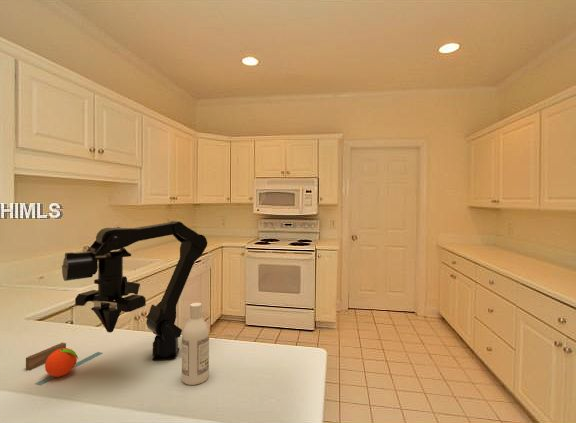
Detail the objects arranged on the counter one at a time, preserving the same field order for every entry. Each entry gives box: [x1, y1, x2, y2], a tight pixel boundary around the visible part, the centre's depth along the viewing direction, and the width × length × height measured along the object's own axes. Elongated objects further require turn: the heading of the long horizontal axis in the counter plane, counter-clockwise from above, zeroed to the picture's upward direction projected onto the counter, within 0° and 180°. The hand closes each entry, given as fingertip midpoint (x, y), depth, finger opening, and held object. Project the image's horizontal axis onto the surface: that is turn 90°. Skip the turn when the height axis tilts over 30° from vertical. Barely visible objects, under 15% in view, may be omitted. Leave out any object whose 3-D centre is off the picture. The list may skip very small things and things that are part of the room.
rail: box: [25, 342, 67, 371], centre depth 88 cm, size 2×10×4 cm, turn 163°
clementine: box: [44, 347, 79, 378], centre depth 81 cm, size 8×7×7 cm
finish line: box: [34, 351, 103, 386], centre depth 85 cm, size 2×18×1 cm, turn 163°
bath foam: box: [181, 302, 210, 386], centre depth 80 cm, size 7×7×20 cm
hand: (110, 331), depth 80 cm, fingers closed
